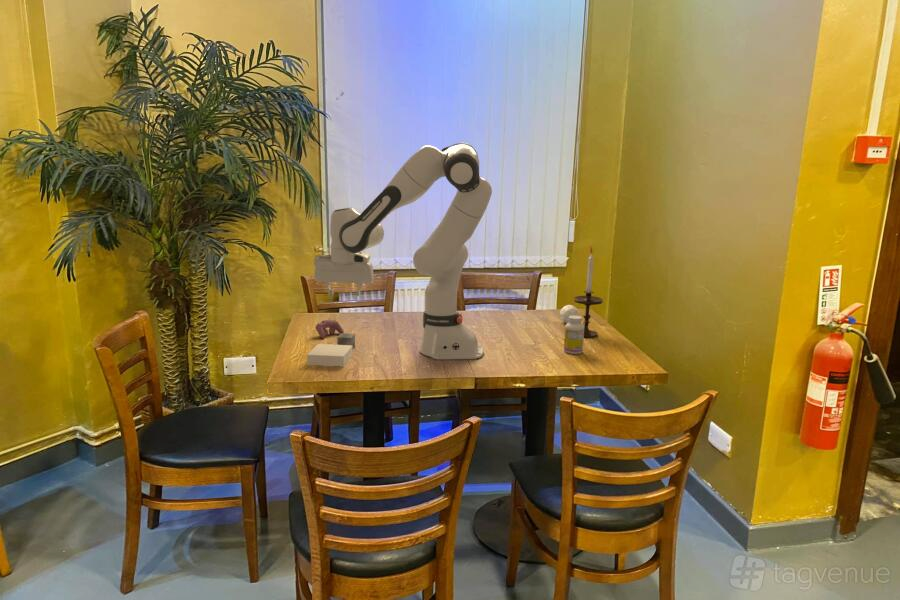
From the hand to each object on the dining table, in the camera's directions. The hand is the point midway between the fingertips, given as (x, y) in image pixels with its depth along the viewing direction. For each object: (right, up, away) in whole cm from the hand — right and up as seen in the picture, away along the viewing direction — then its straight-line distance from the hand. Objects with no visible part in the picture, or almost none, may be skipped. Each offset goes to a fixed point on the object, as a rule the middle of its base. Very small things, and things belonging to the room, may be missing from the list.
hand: (344, 295), depth 221 cm
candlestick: (+90, -16, +28) cm, 95 cm away
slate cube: (0, -19, +4) cm, 20 cm away
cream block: (-3, -22, -8) cm, 24 cm away
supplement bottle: (+80, -20, +6) cm, 83 cm away
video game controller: (-9, -15, +20) cm, 27 cm away
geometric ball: (+86, -12, +45) cm, 98 cm away
